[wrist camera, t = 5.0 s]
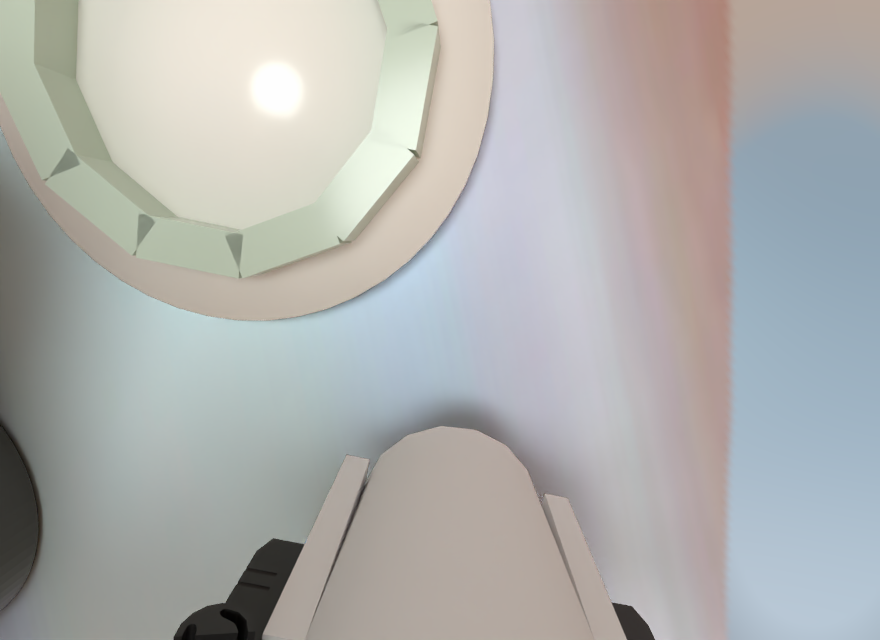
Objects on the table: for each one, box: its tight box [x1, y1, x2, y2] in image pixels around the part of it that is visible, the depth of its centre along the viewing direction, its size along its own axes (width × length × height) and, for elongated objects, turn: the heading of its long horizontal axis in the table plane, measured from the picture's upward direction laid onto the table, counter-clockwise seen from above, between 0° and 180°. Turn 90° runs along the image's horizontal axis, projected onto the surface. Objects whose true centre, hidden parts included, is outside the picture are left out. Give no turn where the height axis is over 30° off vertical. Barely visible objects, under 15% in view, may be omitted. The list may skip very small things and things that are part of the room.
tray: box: [0, 0, 494, 320], centre depth 16 cm, size 18×18×3 cm
